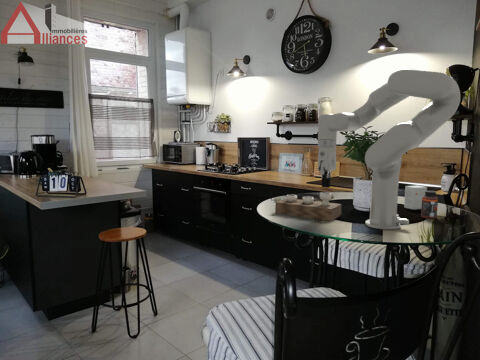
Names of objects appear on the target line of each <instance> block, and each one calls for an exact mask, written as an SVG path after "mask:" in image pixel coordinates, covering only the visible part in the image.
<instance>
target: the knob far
mask: <svg viewBox="0 0 480 360" xmlns="http://www.w3.org/2000/svg"><path fill="white" fill-rule="evenodd" d="M285 199H286V201H288V202H296V201H297V199H298V195H296V194H286V197H285Z"/></svg>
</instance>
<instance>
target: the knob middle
mask: <svg viewBox="0 0 480 360" xmlns="http://www.w3.org/2000/svg"><path fill="white" fill-rule="evenodd" d="M302 200H303V202H302V203H305V204H313V203H314V201H315V198H314V196H309V195H307V196H306V195H305V196H302Z"/></svg>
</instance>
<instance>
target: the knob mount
mask: <svg viewBox="0 0 480 360" xmlns="http://www.w3.org/2000/svg"><path fill="white" fill-rule="evenodd" d="M302 202H303V199H299V198H297V201H296V202H288V201H286V198H285V199H284V198H283V199H280V200H277V201H275V212H274V213H275V214H281V215H287V216H294V217H302V218H308V219H314V220H321V221H330V222H332V221H334V220H336V219H337V218H339V217H341V216H342V203H336V202H335V203H334V202H329V205H328V206H322V201H316V200H314V203H313V204H305V203H302ZM340 215H341V216H340Z"/></svg>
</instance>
